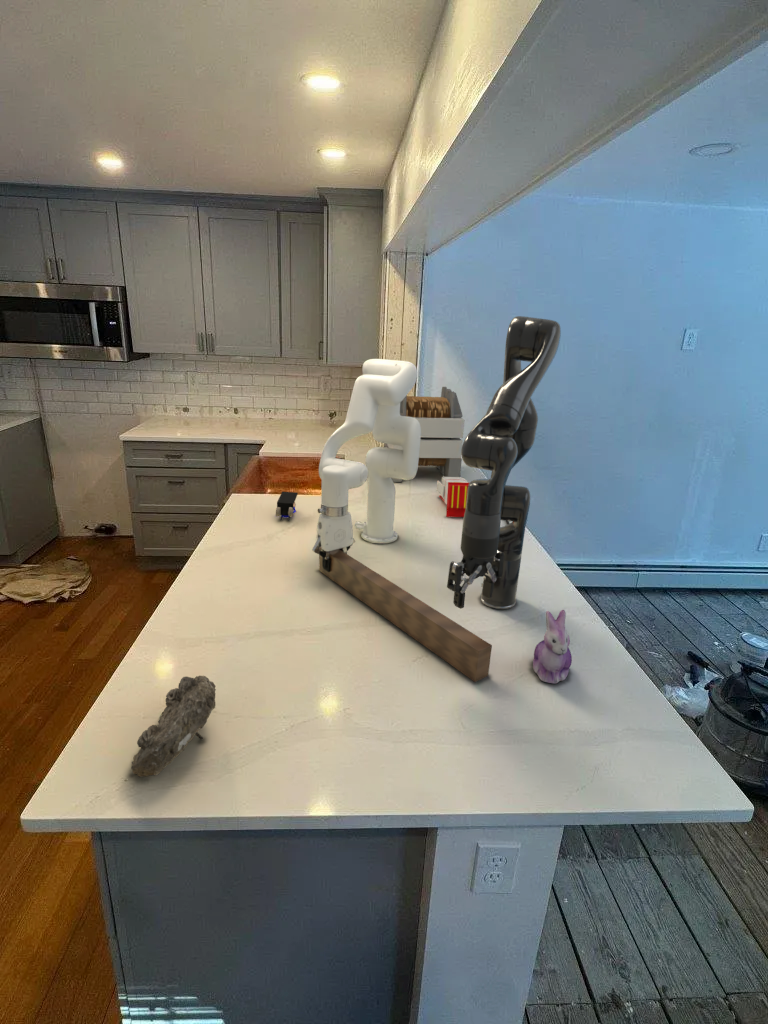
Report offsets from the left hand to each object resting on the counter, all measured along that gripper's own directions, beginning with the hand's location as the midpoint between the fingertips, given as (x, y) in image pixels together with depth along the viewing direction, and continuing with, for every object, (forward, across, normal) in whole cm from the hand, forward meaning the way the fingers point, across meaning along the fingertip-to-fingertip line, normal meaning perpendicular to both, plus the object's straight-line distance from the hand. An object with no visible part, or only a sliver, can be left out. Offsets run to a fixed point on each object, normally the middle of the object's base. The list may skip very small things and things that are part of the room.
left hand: (333, 567), depth 166 cm
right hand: (-14, 0, -55) cm, 57 cm away
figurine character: (+3, +12, +51) cm, 53 cm away
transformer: (+3, +95, +72) cm, 119 cm away
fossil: (+3, -58, -41) cm, 71 cm away
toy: (+3, +75, +28) cm, 80 cm away
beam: (+3, 0, -27) cm, 27 cm away
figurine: (+3, +15, -67) cm, 68 cm away
